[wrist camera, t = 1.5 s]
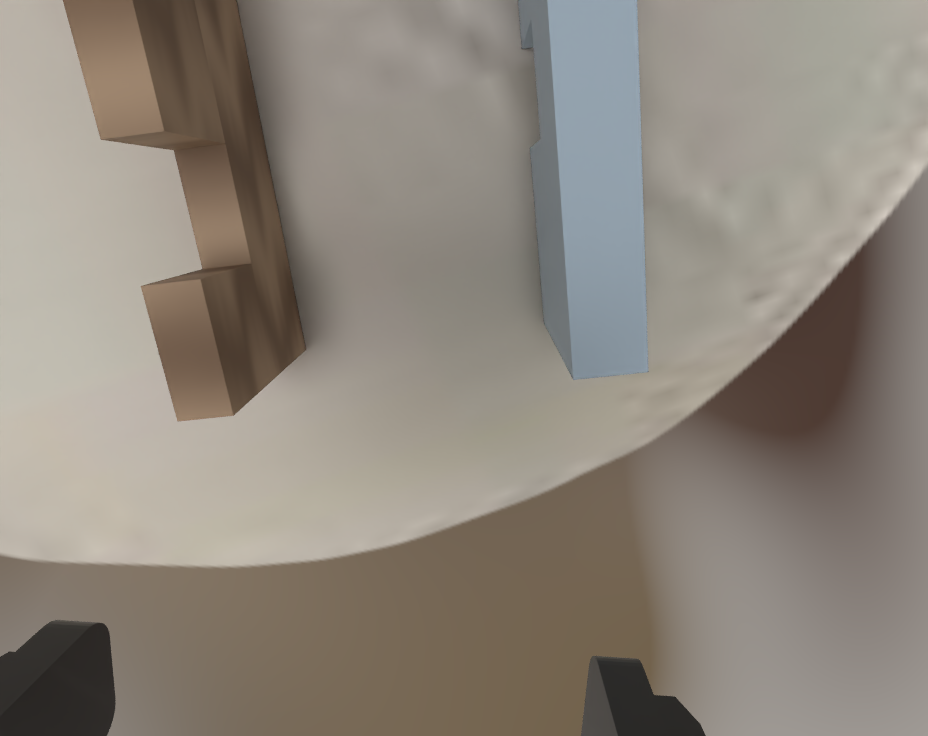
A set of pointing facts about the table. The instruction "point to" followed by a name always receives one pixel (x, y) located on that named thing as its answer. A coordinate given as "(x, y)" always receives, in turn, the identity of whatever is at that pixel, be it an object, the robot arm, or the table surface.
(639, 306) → the notched plate
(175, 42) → the slotted board
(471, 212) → the table surface
